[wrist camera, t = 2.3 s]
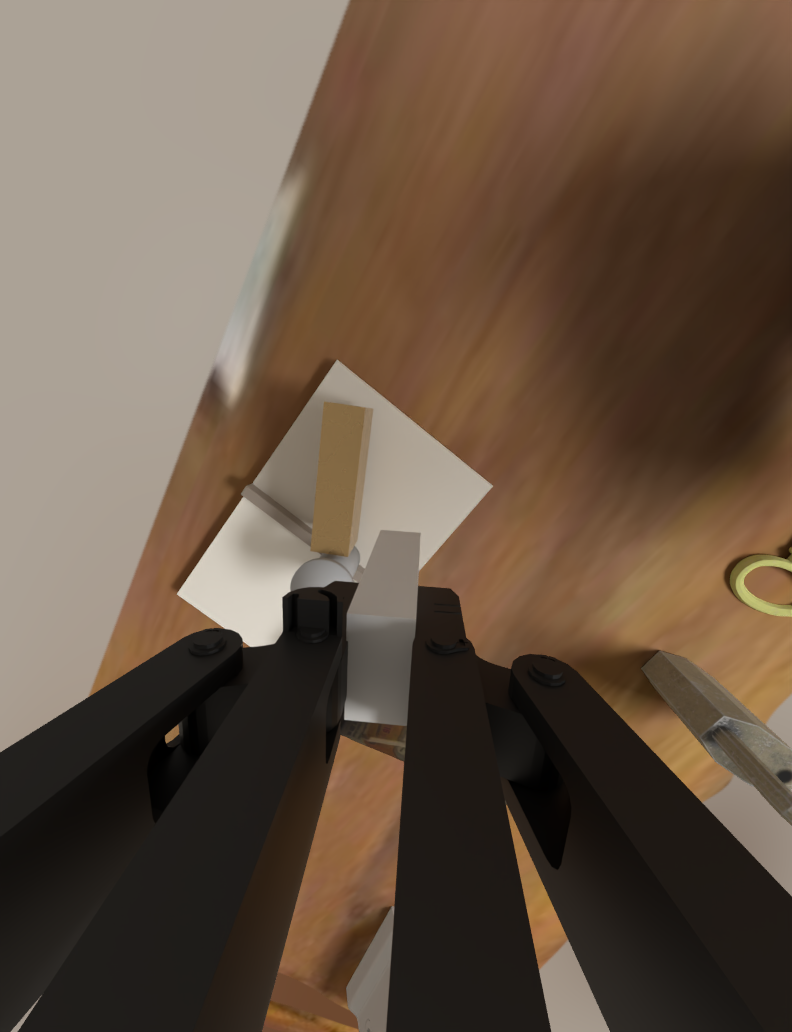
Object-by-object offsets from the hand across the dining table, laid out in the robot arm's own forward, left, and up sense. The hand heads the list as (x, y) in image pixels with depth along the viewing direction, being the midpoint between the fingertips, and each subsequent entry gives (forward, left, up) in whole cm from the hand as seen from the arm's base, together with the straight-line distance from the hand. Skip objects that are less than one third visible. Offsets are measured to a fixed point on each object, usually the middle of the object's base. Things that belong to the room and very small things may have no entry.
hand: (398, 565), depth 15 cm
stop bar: (+5, +2, -17) cm, 18 cm away
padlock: (-31, -1, -20) cm, 37 cm away
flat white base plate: (+3, +9, -20) cm, 22 cm away
